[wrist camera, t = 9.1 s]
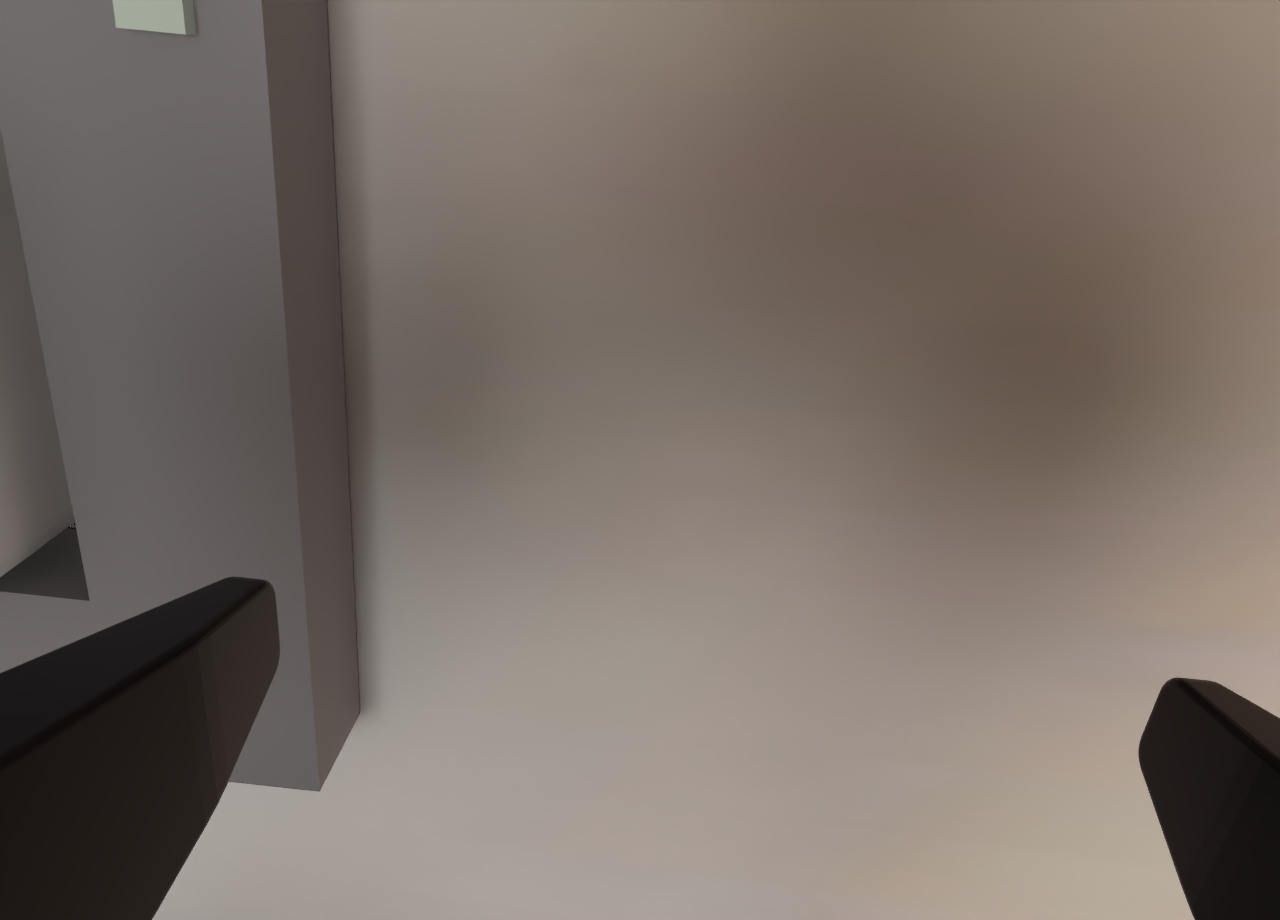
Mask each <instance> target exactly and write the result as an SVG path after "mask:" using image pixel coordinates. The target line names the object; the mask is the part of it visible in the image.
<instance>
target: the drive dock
mask: <svg viewBox="0 0 1280 920" xmlns="http://www.w3.org/2000/svg"><path fill="white" fill-rule="evenodd" d="M0 128H1V133H2V139H3V144H4V149H5V155H6V160H7V165H8V170H9V176H10V181H11V186H12V192H13V197H14V202H15V208H16V213H17V218H18V223H19V229H20V234H21V239H22V245H23V250H24V255H25V260H26V266H27V271H28V276H29V282H30V287H31V292H32V297H33V303H34V308H35V313H36V319H37V324H38V329H39V334H40V340H41V345H42V350H43V356H44V361H45V366H46V372H47V377H48V382H49V387H50V393H51V398H52V403H53V409H54V414H55V419H56V424H57V430H58V435H59V440H60V446H61V451H62V456H63V461H64V467H65V472H66V477H67V483H68V488H69V493H70V499H71V504H72V509H73V514H74V520H75V525H76V529H70V528H66V529H65V530H63V531H62V532H61V533H60V534H58V535H57V536H55V537H54V538H53V539H51V540H50V541H48V542H47V543H46V544H44V545H43V546H42V547H40V548H39V549H38V550H37V551H35V552H34V553H33V554H31V555H30V556H29V557H27V558H26V559H25V560H23V561H22V562H20V563H19V564H18V565H16V566H15V567H14V568H12V569H11V570H9V571H8V572H7V573H5V574H4V575H3V576H1V577H0V673H1V672H4V671H6V670H8V669H11V668H13V667H16V666H18V665H20V664H23V663H25V662H27V661H30V660H32V659H35V658H37V657H39V656H42V655H44V654H46V653H49V652H51V651H53V650H56V649H58V648H61V647H63V646H65V645H68V644H70V643H72V642H75V641H77V640H80V639H82V638H84V637H87V636H89V635H91V634H94V633H96V632H98V631H101V630H103V629H106V628H108V627H110V626H113V625H115V624H117V623H120V622H122V621H125V620H127V619H129V618H132V617H134V616H136V615H139V614H141V613H143V612H146V611H148V610H151V609H153V608H155V607H158V606H160V605H162V604H165V603H167V602H170V601H172V600H174V599H177V598H179V597H181V596H184V595H186V594H188V593H191V592H193V591H196V590H198V589H200V588H203V587H205V586H207V585H210V584H212V583H215V582H217V581H219V580H222V579H224V578H227V577H232V576H235V577H245V578H254V579H263V580H267V581H268V582H270V583H271V584H272V585H273V588H274V590H275V594H276V603H277V614H278V626H279V637H280V659H279V664H278V668H277V671H276V674H275V676H274V678H273V681H272V683H271V685H270V687H269V690H268V692H267V694H266V697H265V699H264V701H263V703H262V706H261V708H260V710H259V713H258V715H257V717H256V720H255V722H254V724H253V726H252V729H251V731H250V733H249V736H248V738H247V740H246V742H245V745H244V747H243V749H242V752H241V754H240V756H239V759H238V761H237V763H236V765H235V768H234V770H233V772H232V775H231V777H230V779H229V781H228V782H237V783H246V784H255V785H265V786H274V787H283V788H292V789H301V790H310V791H320V790H321V788H322V786H323V784H324V782H325V780H326V778H327V776H328V774H329V772H330V770H331V768H332V766H333V764H334V762H335V760H336V758H337V757H338V755H339V753H340V751H341V749H342V747H343V745H344V743H345V741H346V739H347V737H348V735H349V733H350V731H351V729H352V727H353V725H354V723H355V721H356V720H357V718H358V716H359V714H360V702H359V681H358V659H357V638H356V617H355V595H354V574H353V553H352V531H351V510H350V489H349V467H348V446H347V424H346V403H345V382H344V360H343V339H342V318H341V296H340V275H339V254H338V232H337V211H336V189H335V168H334V147H333V125H332V104H331V83H330V61H329V40H328V19H327V0H0Z"/></svg>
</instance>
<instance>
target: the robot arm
mask: <svg viewBox="0 0 1280 920" xmlns="http://www.w3.org/2000/svg"><path fill="white" fill-rule="evenodd" d="M279 659H280V637H279V626H278V614H277V603H276V594H275V590H274V588H273V585H272V584H271V583H270V582H268V581H267V580H263V579H254V578H245V577H235V576H232V577H227V578H224V579H222V580H219V581H217V582H215V583H212V584H210V585H207V586H205V587H203V588H200V589H198V590H196V591H193V592H191V593H188V594H186V595H184V596H181V597H179V598H177V599H174V600H172V601H170V602H167V603H165V604H162V605H160V606H158V607H155V608H153V609H151V610H148V611H146V612H143V613H141V614H139V615H136V616H134V617H132V618H129V619H127V620H125V621H122V622H120V623H117V624H115V625H113V626H110V627H108V628H106V629H103V630H101V631H98V632H96V633H94V634H91V635H89V636H87V637H84V638H82V639H80V640H77V641H75V642H72V643H70V644H68V645H65V646H63V647H61V648H58V649H56V650H53V651H51V652H49V653H46V654H44V655H42V656H39V657H37V658H35V659H32V660H30V661H27V662H25V663H23V664H20V665H18V666H16V667H13V668H11V669H8V670H6V671H4V672H1V673H0V920H152V919H153V917H154V915H155V913H156V912H157V910H158V908H159V907H160V905H161V903H162V901H163V900H164V898H165V896H166V894H167V893H168V891H169V889H170V887H171V886H172V884H173V882H174V880H175V879H176V877H177V875H178V874H179V872H180V870H181V868H182V867H183V865H184V863H185V861H186V860H187V858H188V856H189V854H190V853H191V851H192V849H193V847H194V846H195V844H196V842H197V841H198V839H199V837H200V835H201V834H202V832H203V830H204V828H205V827H206V825H207V823H208V821H209V819H210V817H211V816H212V814H213V812H214V810H215V808H216V806H217V805H218V803H219V801H220V798H221V796H222V794H223V792H224V790H225V788H226V786H227V784H228V781H229V779H230V777H231V775H232V772H233V770H234V768H235V765H236V763H237V761H238V759H239V756H240V754H241V752H242V749H243V747H244V745H245V742H246V740H247V738H248V736H249V733H250V731H251V729H252V726H253V724H254V722H255V720H256V717H257V715H258V713H259V710H260V708H261V706H262V703H263V701H264V699H265V697H266V694H267V692H268V690H269V687H270V685H271V683H272V681H273V678H274V676H275V674H276V671H277V668H278V664H279ZM1139 762H1140V766H1141V770H1142V773H1143V776H1144V779H1145V782H1146V784H1147V787H1148V790H1149V793H1150V796H1151V799H1152V802H1153V805H1154V808H1155V811H1156V813H1157V816H1158V819H1159V822H1160V825H1161V828H1162V831H1163V834H1164V837H1165V840H1166V842H1167V845H1168V848H1169V851H1170V854H1171V857H1172V860H1173V863H1174V866H1175V868H1176V871H1177V874H1178V877H1179V880H1180V883H1181V886H1182V888H1183V891H1184V894H1185V896H1186V899H1187V902H1188V904H1189V907H1190V909H1191V912H1192V914H1193V917H1194V919H1195V920H1280V718H1278V717H1277V716H1275V715H1273V714H1271V713H1270V712H1268V711H1266V710H1264V709H1263V708H1261V707H1259V706H1257V705H1256V704H1254V703H1252V702H1250V701H1249V700H1247V699H1245V698H1243V697H1242V696H1240V695H1238V694H1236V693H1235V692H1233V691H1231V690H1229V689H1227V688H1226V687H1224V686H1222V685H1220V684H1218V683H1216V682H1212V681H1207V680H1197V679H1188V678H1173V679H1170V680H1168V681H1167V682H1166V683H1165V684H1164V685H1163V687H1162V689H1161V690H1160V693H1159V695H1158V698H1157V700H1156V703H1155V705H1154V707H1153V710H1152V712H1151V715H1150V717H1149V720H1148V722H1147V725H1146V727H1145V730H1144V732H1143V734H1142V737H1141V740H1140V744H1139Z"/></svg>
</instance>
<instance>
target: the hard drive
mask: <svg viewBox="0 0 1280 920" xmlns="http://www.w3.org/2000/svg"><path fill="white" fill-rule="evenodd" d="M73 523H75V520H74V514H73V509H72V504H71V499H70V493H69V488H68V483H67V477H66V472H65V467H64V461H63V456H62V451H61V446H60V440H59V435H58V430H57V424H56V419H55V414H54V409H53V403H52V398H51V393H50V387H49V382H48V377H47V372H46V366H45V361H44V356H43V350H42V345H41V340H40V334H39V329H38V324H37V319H36V313H35V308H34V303H33V297H32V292H31V287H30V282H29V276H28V271H27V266H26V260H25V255H24V250H23V245H22V239H21V234H20V229H19V223H18V218H17V213H16V208H15V202H14V197H13V192H12V186H11V181H10V176H9V170H8V165H7V160H6V155H5V149H4V144H3V139H2V133H1V128H0V577H1V576H3V575H4V574H5V573H7V572H8V571H9V570H11V569H12V568H14V567H15V566H16V565H18V564H19V563H20V562H22V561H23V560H25V559H26V558H27V557H29V556H30V555H31V554H33V553H34V552H35V551H37V550H38V549H39V548H40V547H42V546H43V545H44V544H46V543H47V542H48V541H50V540H51V539H53V538H54V537H55V536H57V535H58V534H60V533H61V532H62V531H63V530H65V529H66V528H68V527H69V526H70V525H72V524H73Z"/></svg>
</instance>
